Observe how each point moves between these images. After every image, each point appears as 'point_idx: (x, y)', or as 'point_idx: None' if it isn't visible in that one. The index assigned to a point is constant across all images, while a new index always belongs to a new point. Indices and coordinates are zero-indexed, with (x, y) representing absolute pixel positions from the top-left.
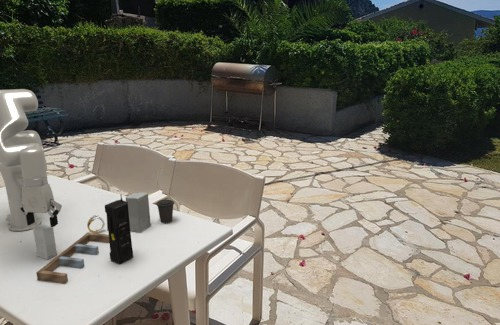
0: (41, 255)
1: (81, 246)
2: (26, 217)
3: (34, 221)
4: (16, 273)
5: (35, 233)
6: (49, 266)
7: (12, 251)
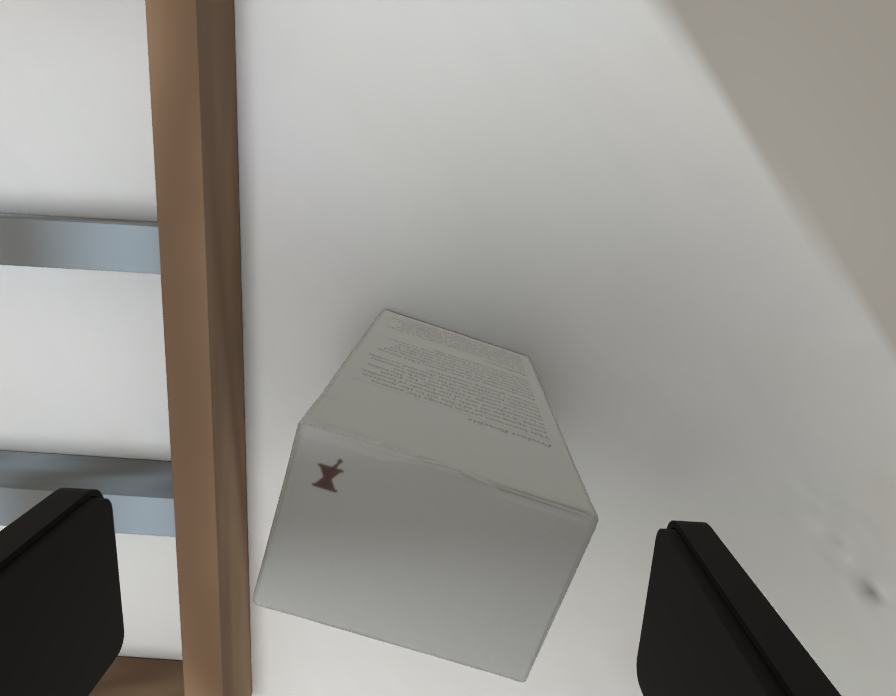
0: (465, 338)
1: None
2: (802, 664)
3: (643, 676)
4: (531, 22)
5: (532, 454)
6: (153, 61)
7: (839, 407)
